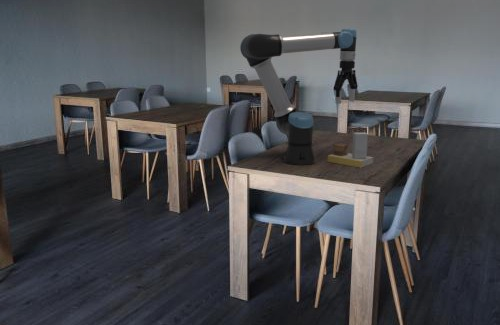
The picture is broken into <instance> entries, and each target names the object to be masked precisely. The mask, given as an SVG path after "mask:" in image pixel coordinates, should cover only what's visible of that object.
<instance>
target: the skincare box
mask: <svg viewBox="0 0 500 325" xmlns="http://www.w3.org/2000/svg"><path fill="white" fill-rule="evenodd" d="M368 137H369V133H367V132H352V147H351V148H352V149H351V154H352V157H353V158H354V159H364V158H367V156H368V155H367V154H368Z"/></svg>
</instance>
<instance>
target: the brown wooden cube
mask: <svg viewBox="0 0 500 325" xmlns="http://www.w3.org/2000/svg"><path fill="white" fill-rule="evenodd" d="M348 153H349V144H346V143H336V144H333V153H332V154H333V155H338V156H345V155H348Z"/></svg>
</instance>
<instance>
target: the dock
mask: <svg viewBox="0 0 500 325" xmlns="http://www.w3.org/2000/svg"><path fill="white" fill-rule="evenodd" d="M327 162H329V163H333V164H340V165H343V166H344V165H345V166H348V167H349V166H350V167H355V168H364V167H366V166H369V165H372V164H373V163H374V157H373V156H370V155H369V156H368V155H367V158H364V159H354V158H353V157H352V152H348V155H345V156H338V155H333V153H331V154H329V155H327Z"/></svg>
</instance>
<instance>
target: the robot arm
mask: <svg viewBox="0 0 500 325" xmlns="http://www.w3.org/2000/svg"><path fill="white" fill-rule="evenodd" d="M357 38H358V37H357V30H356V28H342V29H341V31H334V32H333V31H332V32H319V33H307V34H297V35H296V34H295V35H283V36H281V35H280V34H266V33H265V34H264V33H254V34H253V33H251V34H248V35H247V36H245V37H244V38H243V39H242V41H241V43H240V47H239V48H240V53H241V55H242V56H243V57H244V58H245V59H246V61H247V63H248V65H249V66H250V68H251V69H254V70H255V72H256V74H257V76H258V78H259V81H260V82H261V84H262V86H263V89H264V91H265V93H266V94H267V97H268V100H269V101H270V103H271V105H272V107H273V110H274V114H273V118H275V124H276V125H275V126H276V127H277V128H276V129H278V131H279V132H280V133H282V134H283V135H285V136H287V138H288V139H287V141H288V142H287V147H286V151H285V152H284V153H285V154H284V155H283V161H284V163H285V164H289V165H295V166H308V165H314V164H315V163H316V156H315V153H314V148H313V138H314V137H313V135H314V134H313V133H314V117H313V115H312V114H311V113H307V112H302V111H298V110H297V107H296V105H294V104H292V103H291V101H290V99H289V97H288V95H287V93H286V91H285V88H284V86H283V85H282V82H281V80H280V77H279V75H278V74H277V71H276V69H275V67H274V66H273V63H272V58H274V57H281V56H282V55H283V54H289V53H290V54H293V53H301V52H314V51H325V50H336V49H340V51H339V54H340V55H339V68H340V69H341V70H337V73H336V74H337V75H336V79H335V81H334V85H333V91H335V104H339V105H341V104H342V89H343V86H344V84H345V82H346V81H347V83H348V84H349V88H350V89H349V91H348V92H349V93H348V95H349V96H348V101H349V102H353V103H354V102H355V98H356V97H355V96H356V95H355V92H356V90H357V89H358V87H359V86H358V81H357V80H358V79H357V76H356V69H355V66H356V61H355V60H356V55H357V54H356V51H357V50H356V49H357V48H356V46H357V45H356V44H357Z"/></svg>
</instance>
